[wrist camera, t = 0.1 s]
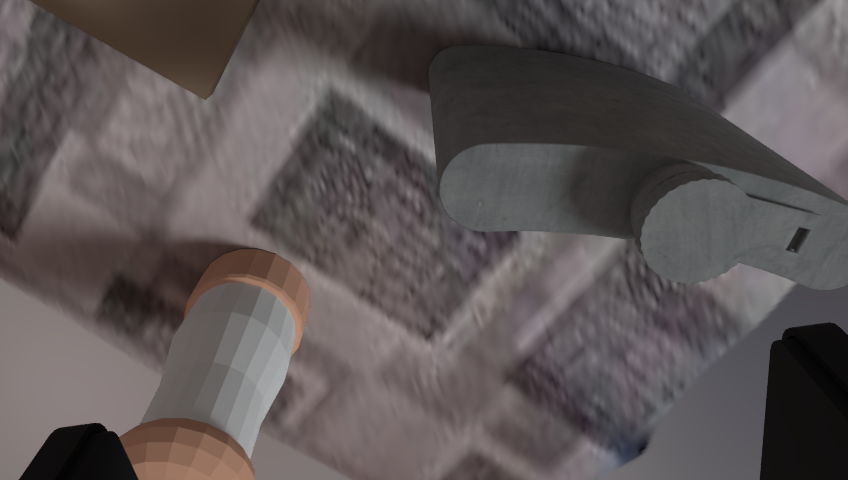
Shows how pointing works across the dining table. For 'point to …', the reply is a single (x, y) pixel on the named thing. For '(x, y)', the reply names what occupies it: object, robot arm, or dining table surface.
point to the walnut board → (165, 33)
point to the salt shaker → (222, 370)
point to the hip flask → (623, 167)
